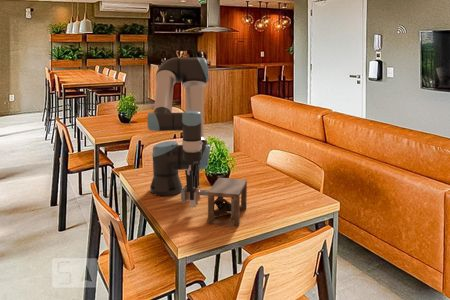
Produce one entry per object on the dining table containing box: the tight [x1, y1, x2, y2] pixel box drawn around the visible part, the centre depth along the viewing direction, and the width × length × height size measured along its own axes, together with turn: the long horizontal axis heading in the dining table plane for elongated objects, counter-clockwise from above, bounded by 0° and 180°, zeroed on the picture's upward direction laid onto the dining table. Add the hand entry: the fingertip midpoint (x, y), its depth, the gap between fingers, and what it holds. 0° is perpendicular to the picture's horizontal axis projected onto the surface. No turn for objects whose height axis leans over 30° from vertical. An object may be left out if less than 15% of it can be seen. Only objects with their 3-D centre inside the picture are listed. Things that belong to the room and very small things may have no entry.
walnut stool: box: [207, 177, 248, 228], centre depth 169 cm, size 12×18×13 cm, turn 168°
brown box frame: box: [180, 184, 234, 222], centre depth 171 cm, size 22×12×10 cm, turn 78°
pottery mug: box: [214, 197, 231, 218], centre depth 172 cm, size 12×10×8 cm
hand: (193, 205), depth 173 cm, fingers closed on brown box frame, 2 cm apart
